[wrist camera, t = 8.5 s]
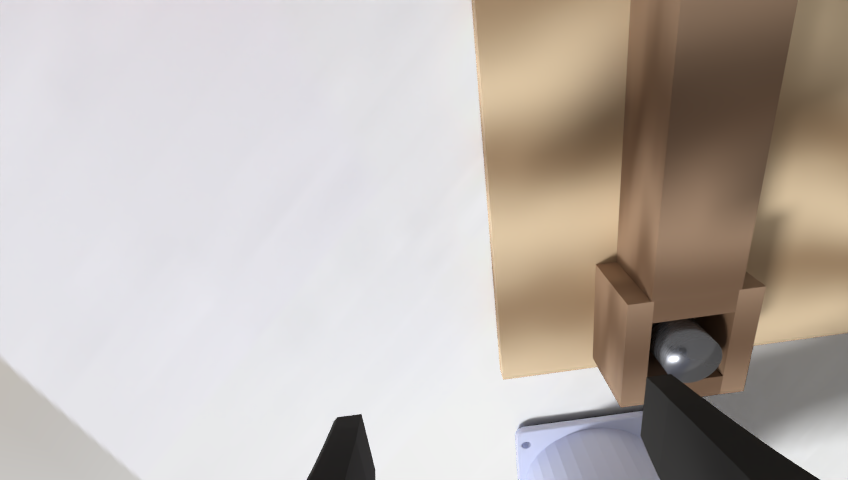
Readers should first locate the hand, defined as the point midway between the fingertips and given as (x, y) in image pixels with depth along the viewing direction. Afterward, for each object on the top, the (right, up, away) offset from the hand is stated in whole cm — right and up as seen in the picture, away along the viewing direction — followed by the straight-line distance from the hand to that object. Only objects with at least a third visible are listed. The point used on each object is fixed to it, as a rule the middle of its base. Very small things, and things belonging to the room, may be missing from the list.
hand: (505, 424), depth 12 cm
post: (+8, +2, +11) cm, 14 cm away
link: (+8, +8, +7) cm, 13 cm away
